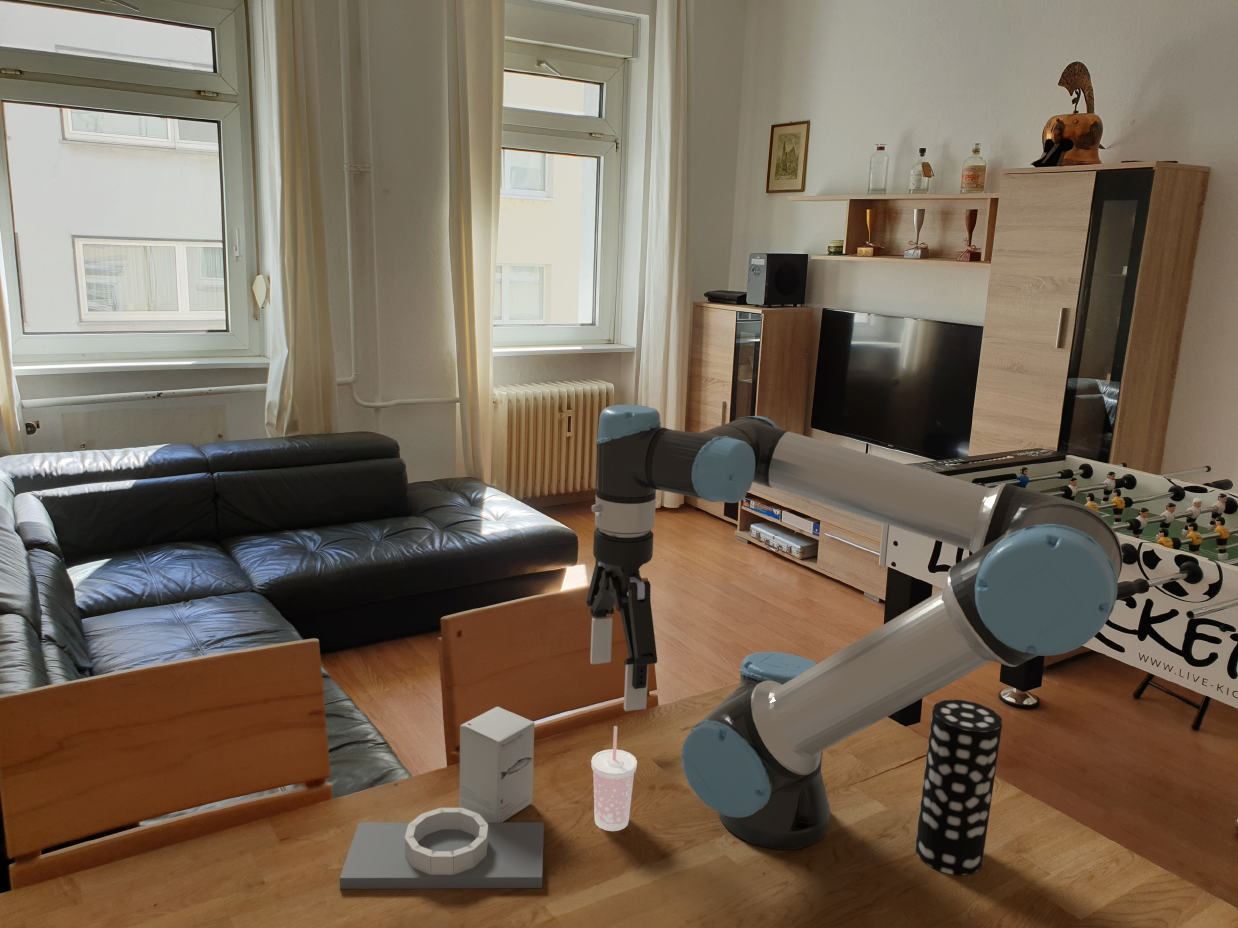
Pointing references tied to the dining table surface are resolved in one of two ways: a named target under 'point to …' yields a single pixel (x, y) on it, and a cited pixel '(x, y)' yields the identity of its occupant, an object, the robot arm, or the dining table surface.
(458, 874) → the collar board
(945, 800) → the spotted tube
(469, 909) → the dining table surface
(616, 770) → the beverage cup
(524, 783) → the supplement box
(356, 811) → the dining table surface
